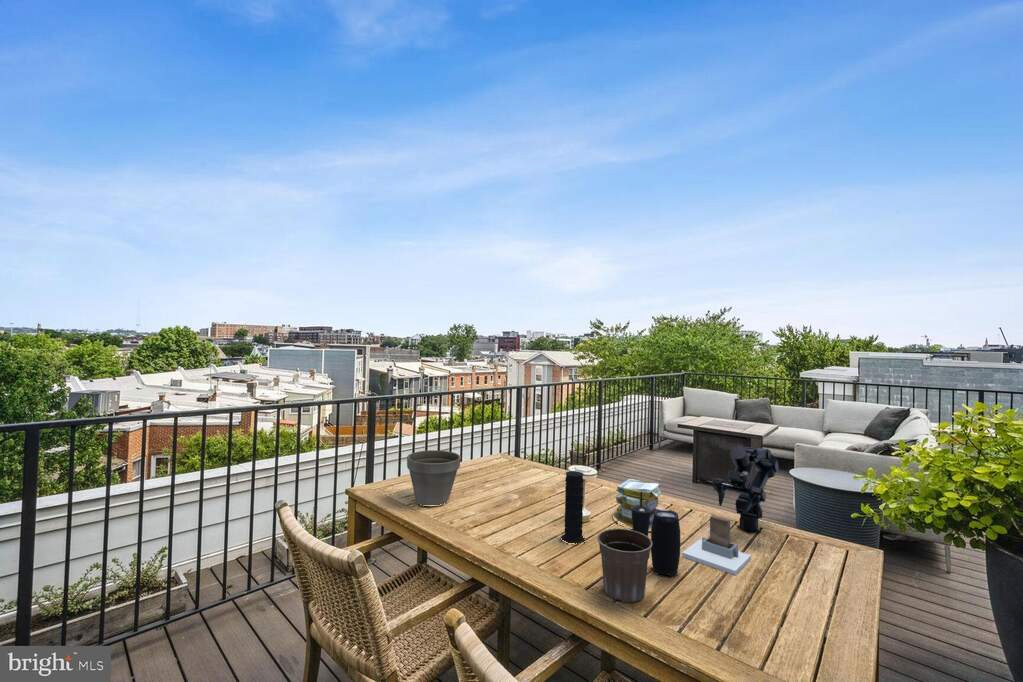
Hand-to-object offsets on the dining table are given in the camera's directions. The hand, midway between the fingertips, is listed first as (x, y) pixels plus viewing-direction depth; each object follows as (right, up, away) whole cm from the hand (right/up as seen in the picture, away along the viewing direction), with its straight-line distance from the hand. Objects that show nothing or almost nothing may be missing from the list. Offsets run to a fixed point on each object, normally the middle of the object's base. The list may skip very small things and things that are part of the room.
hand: (732, 508), depth 174 cm
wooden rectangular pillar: (-9, -12, -10) cm, 18 cm away
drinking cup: (-36, -13, -2) cm, 38 cm away
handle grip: (-61, -13, +1) cm, 62 cm away
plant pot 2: (-50, -13, -35) cm, 63 cm away
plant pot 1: (-121, -12, +39) cm, 128 cm away
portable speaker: (-33, -13, -22) cm, 42 cm away
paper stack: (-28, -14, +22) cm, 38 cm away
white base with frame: (-11, -13, -12) cm, 21 cm away
